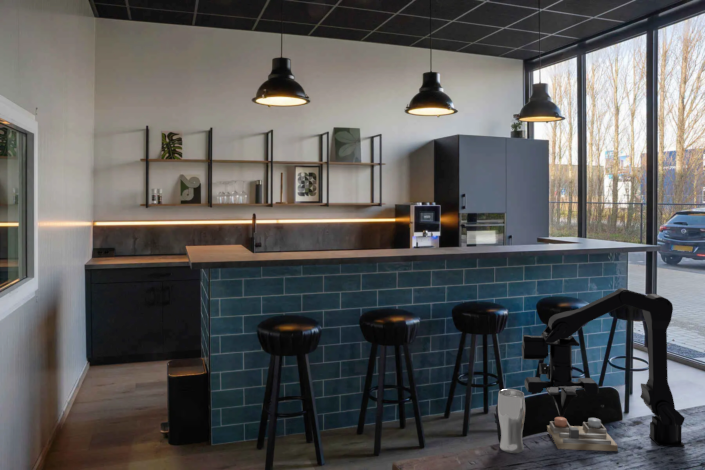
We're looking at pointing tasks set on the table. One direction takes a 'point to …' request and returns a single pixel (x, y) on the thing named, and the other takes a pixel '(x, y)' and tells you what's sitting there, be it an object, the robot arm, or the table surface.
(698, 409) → the table surface
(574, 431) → the block
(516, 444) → the beer glass
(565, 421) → the terracotta button
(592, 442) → the control panel
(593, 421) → the grey button
